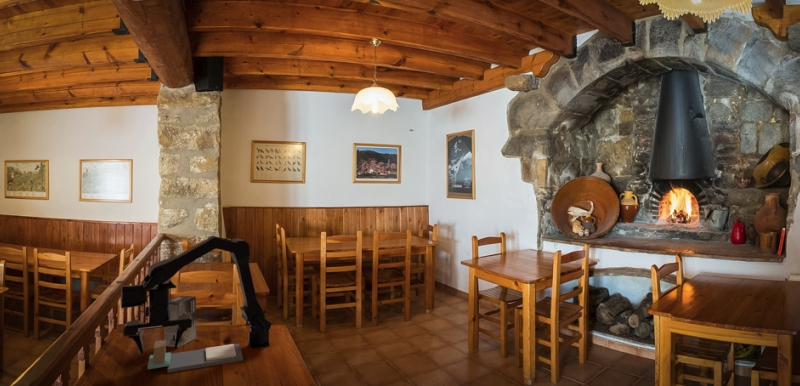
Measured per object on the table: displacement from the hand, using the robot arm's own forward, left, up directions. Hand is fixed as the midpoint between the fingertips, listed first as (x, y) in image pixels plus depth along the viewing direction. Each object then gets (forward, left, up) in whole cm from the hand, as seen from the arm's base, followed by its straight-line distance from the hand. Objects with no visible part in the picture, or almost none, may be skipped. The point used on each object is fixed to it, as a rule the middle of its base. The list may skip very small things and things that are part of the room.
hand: (159, 351), depth 135 cm
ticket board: (-14, 0, -5) cm, 14 cm away
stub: (0, 0, -3) cm, 3 cm away
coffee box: (-6, -19, -5) cm, 20 cm away
